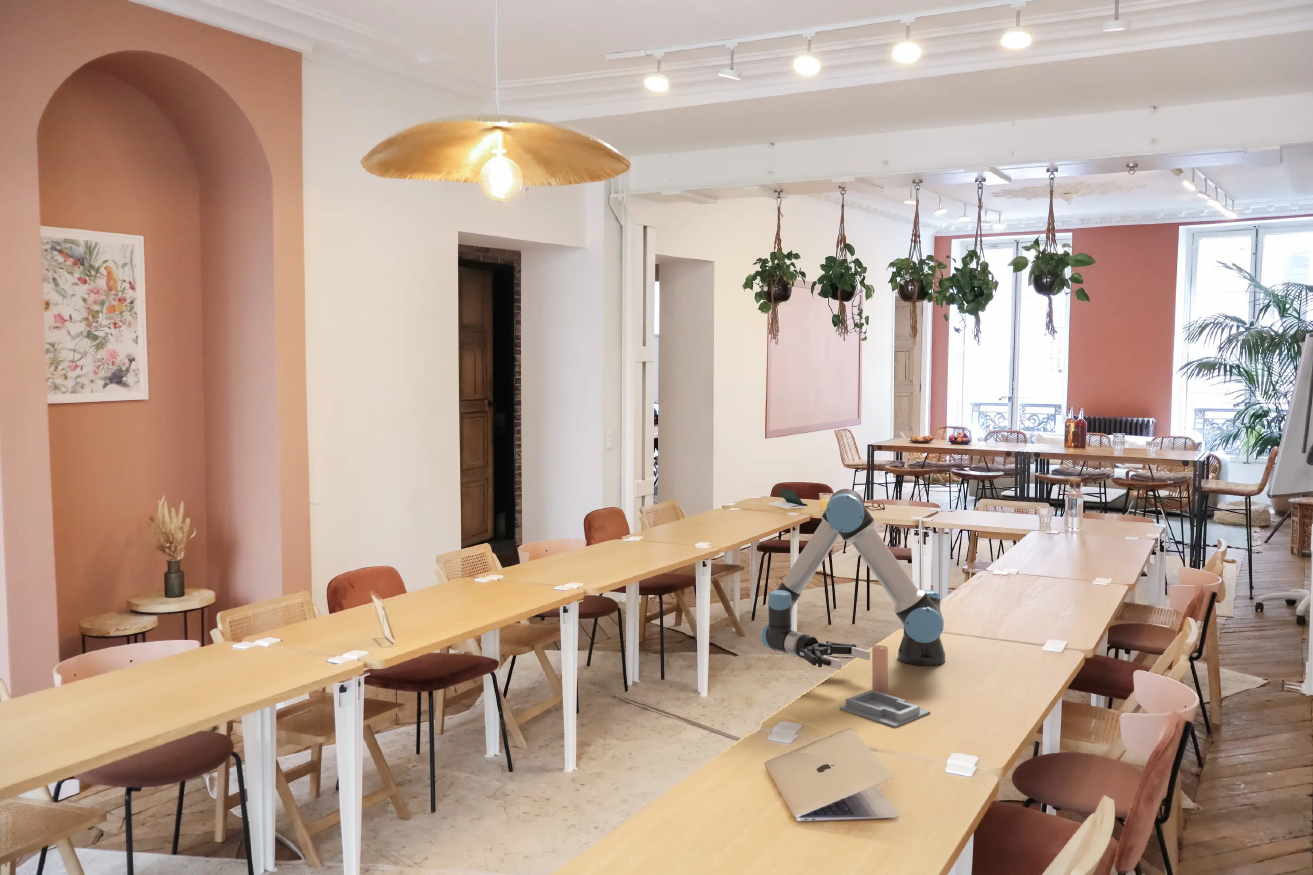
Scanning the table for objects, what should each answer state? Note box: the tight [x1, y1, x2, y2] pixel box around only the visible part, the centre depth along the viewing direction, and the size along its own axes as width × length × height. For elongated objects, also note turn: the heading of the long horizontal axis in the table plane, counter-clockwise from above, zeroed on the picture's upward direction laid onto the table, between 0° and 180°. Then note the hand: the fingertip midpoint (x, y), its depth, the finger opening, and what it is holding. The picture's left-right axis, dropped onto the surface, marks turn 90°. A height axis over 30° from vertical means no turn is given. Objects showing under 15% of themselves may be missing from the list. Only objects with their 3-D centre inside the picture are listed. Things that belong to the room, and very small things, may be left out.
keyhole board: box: [839, 689, 931, 728], centre depth 276 cm, size 16×19×3 cm
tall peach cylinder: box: [871, 644, 889, 695], centre depth 290 cm, size 4×4×14 cm
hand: (855, 660), depth 297 cm, fingers open, 13 cm apart
